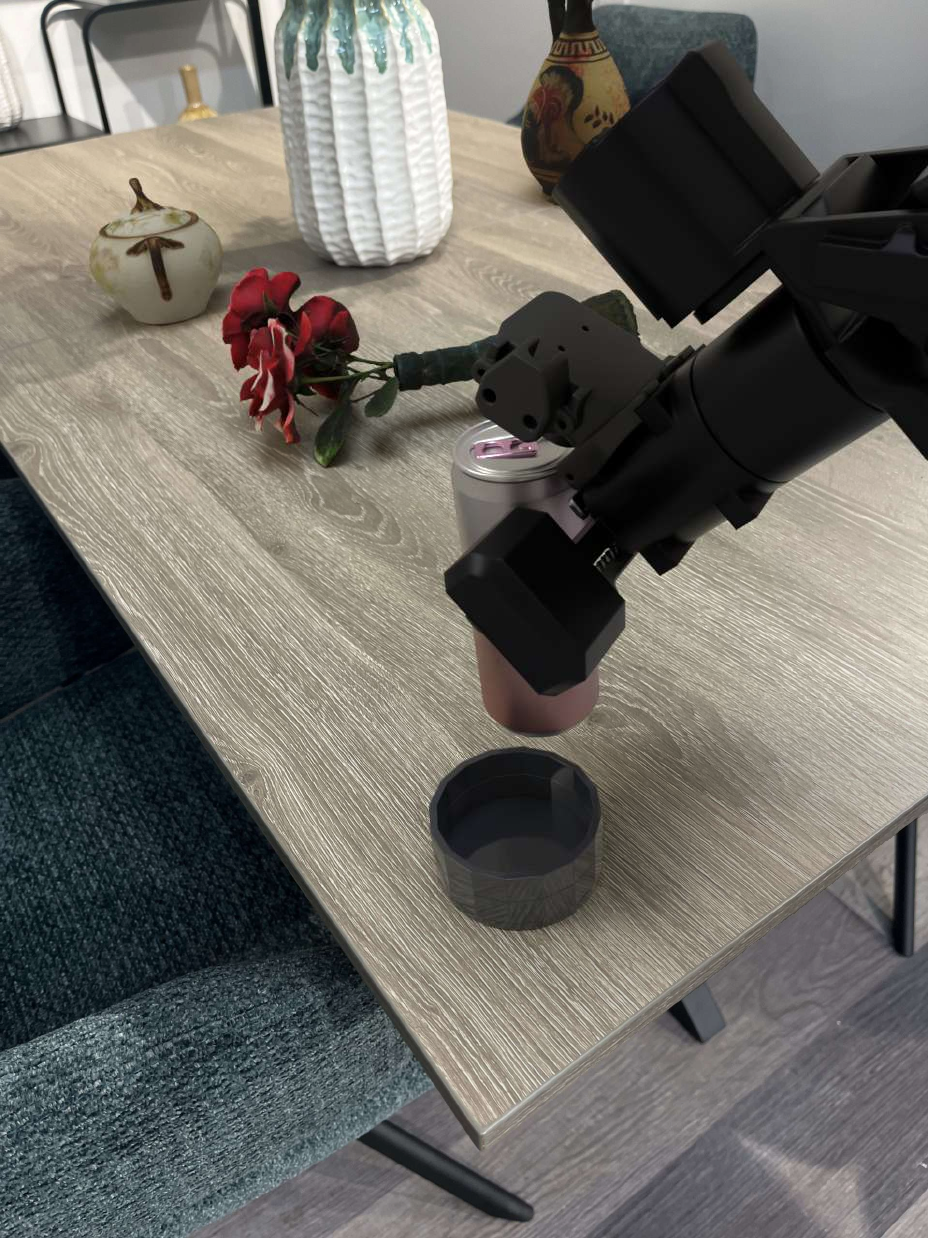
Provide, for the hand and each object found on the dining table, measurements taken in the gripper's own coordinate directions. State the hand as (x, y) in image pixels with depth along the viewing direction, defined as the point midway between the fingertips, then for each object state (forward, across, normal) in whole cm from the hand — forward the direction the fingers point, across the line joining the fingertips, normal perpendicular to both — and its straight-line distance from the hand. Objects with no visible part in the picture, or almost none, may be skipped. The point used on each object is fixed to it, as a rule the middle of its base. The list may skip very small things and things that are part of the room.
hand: (507, 586), depth 48 cm
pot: (+8, +5, +11) cm, 15 cm away
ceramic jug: (+43, -101, -25) cm, 112 cm away
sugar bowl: (+61, -46, -44) cm, 88 cm away
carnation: (+30, -36, -12) cm, 48 cm away
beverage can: (+4, 0, +6) cm, 7 cm away
